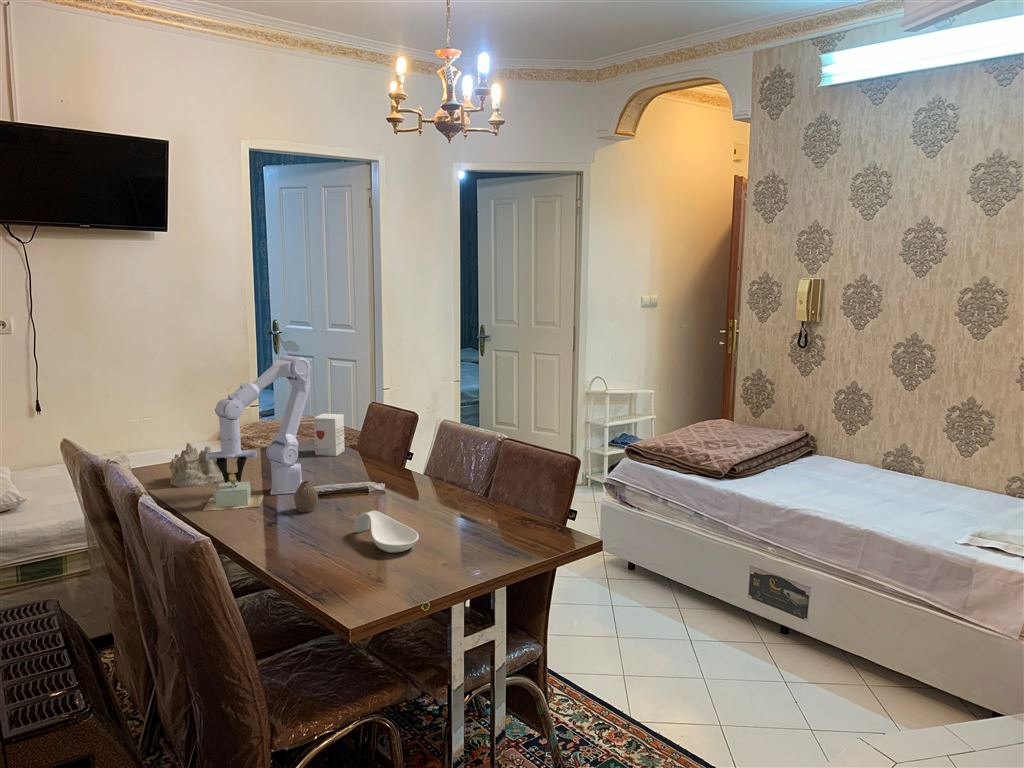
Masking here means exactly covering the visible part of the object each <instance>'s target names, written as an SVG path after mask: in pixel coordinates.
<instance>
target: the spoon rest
mask: <svg viewBox="0 0 1024 768" xmlns="http://www.w3.org/2000/svg"><path fill="white" fill-rule="evenodd" d="M369 529H370V535H371V537H372V538H371V539H372V541H373V542H374V544H375V546H376V547H377V548H379V549H380V550H382V551H384V552H385V553H392V554H393V553H402V552H405V551H407V550H409V549H411V548H413V547H414V545H416V544H417V542H418V541H419V538H420V537H419V533H418V532H417V531H416V530H414V529H413V528H411V527H410V526H408V525H406V524H405V523H402V522H400V521H398V520H396V519H394V518H392V517H390V516H388V515H386V514H384V513H383V512H380V511H378V510H370V511H368V512H362V513H360V514H359V515H358V516H357V518H356V520H355V521H354V526H353V533H361V532H364V531H368V530H369Z"/></svg>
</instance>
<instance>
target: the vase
mask: <svg viewBox="0 0 1024 768" xmlns="http://www.w3.org/2000/svg"><path fill="white" fill-rule="evenodd" d="M318 502H319V495H318V492H317V490H316V489H315V488H314V486H313V485H312V484H311V482H310V481H309V480H302V482H301V484H300V486H299V487H298V489H297V490H296V492H295V493H294V496H293V503H294V506H295V508H296V510H297V511H299V512H300V513H310V512H312V511H315V509H316V507H317V505H318Z"/></svg>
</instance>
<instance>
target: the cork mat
mask: <svg viewBox="0 0 1024 768" xmlns="http://www.w3.org/2000/svg"><path fill="white" fill-rule="evenodd" d="M263 498H264V494H253V495H252V494H251V499H250V502H249V504H248V505H247V506H233V507H218V508H217V507H216V502H213V497H210V498H209V499H208V501H207V503H206V504H205V506H204V508H203V512H205V511H204V510H215V511H223V510H224V509H229V510H240V509H239V508H244V509H255V508H254V507H258V508H261V505H262V501H263ZM260 504H261V505H260ZM224 511H225V510H224Z"/></svg>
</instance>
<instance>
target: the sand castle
mask: <svg viewBox="0 0 1024 768" xmlns="http://www.w3.org/2000/svg"><path fill="white" fill-rule="evenodd" d="M206 453H212V449H211V446H210V445H205V446H204V450H202V449H201V450H200V452H198V448H197V447H194V446H193V445H191V443H190V442H187V443H186V447H185V450H184V449H182V450H181V453H180V456H179V454H177V453H175V454H174V458H172V459H171V462H170V465H169V469H170V470H171V477H170V481H169V482H170V485H172V486H175V487H176V488H177V487H178V488H183V487H188V488H195V487H194V486H199V485H203V484H207V483H213V482H218V481H221V480H223V479H224V477H223V475H222V472H221V470H220V469H219V467H218V466H217V464H216V462H217V459H214V460H206ZM223 481H224V480H223ZM221 482H222V481H221ZM218 483H219V482H218ZM199 487H200V486H199Z"/></svg>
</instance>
